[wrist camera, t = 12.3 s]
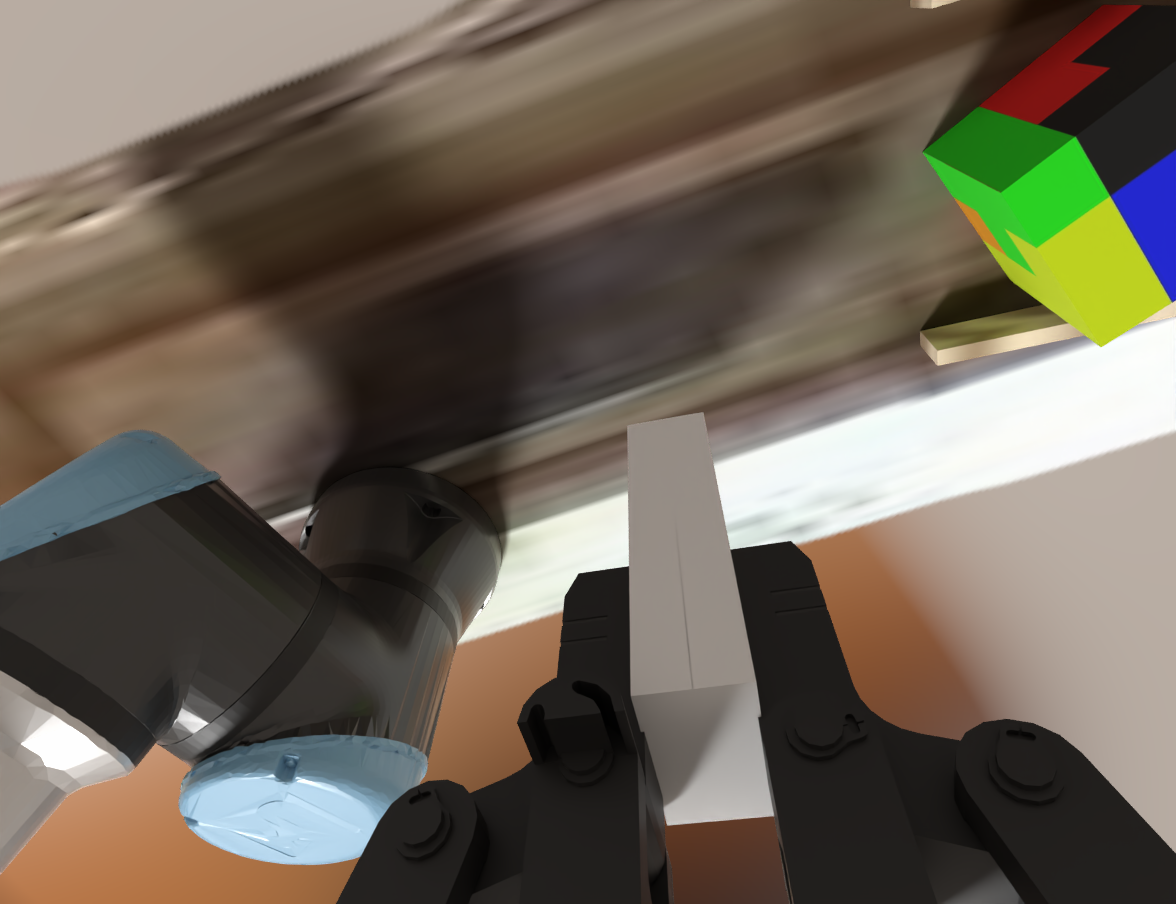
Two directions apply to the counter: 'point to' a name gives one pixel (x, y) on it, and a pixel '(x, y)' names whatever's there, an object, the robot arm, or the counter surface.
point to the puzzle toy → (1080, 171)
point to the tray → (1001, 317)
